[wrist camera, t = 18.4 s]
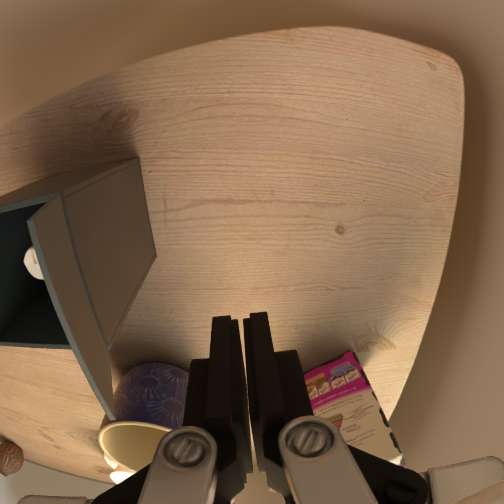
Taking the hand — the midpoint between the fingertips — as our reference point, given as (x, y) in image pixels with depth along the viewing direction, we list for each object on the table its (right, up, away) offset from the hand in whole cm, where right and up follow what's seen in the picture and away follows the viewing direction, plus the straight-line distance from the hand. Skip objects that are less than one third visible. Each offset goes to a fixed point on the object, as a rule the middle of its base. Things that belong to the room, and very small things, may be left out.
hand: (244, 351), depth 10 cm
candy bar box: (+9, -13, +29) cm, 33 cm away
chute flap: (-8, +1, +3) cm, 8 cm away
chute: (-15, +7, +19) cm, 25 cm away
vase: (-55, -42, +37) cm, 78 cm away
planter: (-11, -14, +28) cm, 33 cm away
